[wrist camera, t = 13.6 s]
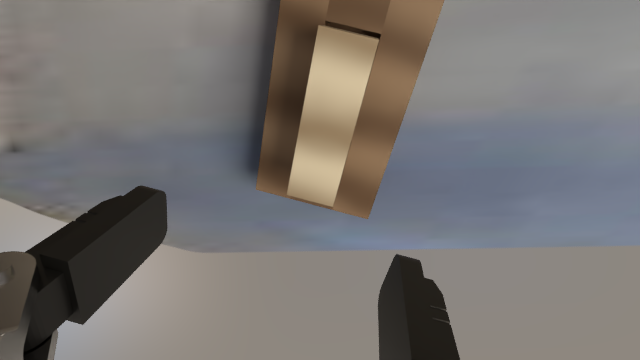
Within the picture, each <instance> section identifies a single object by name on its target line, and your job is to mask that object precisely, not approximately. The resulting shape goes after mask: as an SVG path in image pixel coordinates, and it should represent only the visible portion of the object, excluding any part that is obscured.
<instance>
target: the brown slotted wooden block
mask: <svg viewBox="0 0 640 360" xmlns="http://www.w3.org/2000/svg"><path fill="white" fill-rule="evenodd" d="M443 3H444V0H280V8H279V16H278V23H277V31H276V39H275V46H274V54H273V62H272V69H271V77H270V85H269V92H268V100H267V108H266V115H265V123H264V131H263V138H262V146H261V154H260V161H259V169H258V177H257V184H256V190H260V191H264V192H267V193H271V194H275V195H279V196H283V197H286V198H290V199H294V200H298V201H301V202H305V203H309V204H313V205H317V206H320V207H324V208H328V209H332V210H335V211H339V212H343V213H347V214H350V215H354V216H358V217H362V218H366V219H368V217H369V214H370V212H371V209H372V206H373V203H374V200H375V197H376V194H377V192H378V189H379V186H380V183H381V180H382V177H383V174H384V171H385V169H386V166H387V163H388V160H389V157H390V154H391V151H392V149H393V146H394V143H395V140H396V137H397V134H398V131H399V129H400V126H401V123H402V120H403V117H404V114H405V111H406V109H407V106H408V103H409V100H410V97H411V94H412V91H413V89H414V86H415V83H416V80H417V77H418V74H419V71H420V69H421V66H422V63H423V60H424V57H425V54H426V51H427V48H428V46H429V43H430V40H431V37H432V34H433V31H434V28H435V26H436V23H437V20H438V17H439V14H440V11H441V8H442V6H443ZM318 25H325V26H329V27H333V28H337V29H341V30H346V31H350V32H354V33H358V34H362V35H366V36H370V37H374V38H378V39H379V42H378V46H377V49H376V53H375V57H374V60H373V64H372V67H371V71H370V75H369V78H368V82H367V86H366V89H365V93H364V96H363V100H362V104H361V107H360V111H359V114H358V118H357V122H356V125H355V129H354V133H353V136H352V140H351V143H350V147H349V151H348V154H347V158H346V161H345V165H344V169H343V172H342V176H341V179H340V183H339V187H338V190H337V194H336V198H335V201H334V205H333V207H331V206H327V205H323V204H320V203H316V202H312V201H308V200H304V199H301V198H297V197H293V196H289V195H287V191H288V186H289V180H290V175H291V170H292V164H293V159H294V154H295V148H296V143H297V138H298V132H299V127H300V122H301V116H302V111H303V105H304V100H305V95H306V89H307V84H308V79H309V73H310V68H311V63H312V57H313V52H314V47H315V41H316V36H317V31H318Z"/></svg>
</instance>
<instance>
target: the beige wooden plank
mask: <svg viewBox="0 0 640 360" xmlns="http://www.w3.org/2000/svg"><path fill="white" fill-rule="evenodd" d="M378 42H379V39H378V38H374V37H370V36H366V35H362V34H358V33H354V32H350V31H346V30H341V29H337V28H333V27H329V26H325V25H318V31H317V36H316V41H315V47H314V52H313V57H312V63H311V68H310V73H309V79H308V84H307V89H306V95H305V100H304V105H303V111H302V116H301V122H300V127H299V132H298V138H297V143H296V148H295V154H294V159H293V164H292V170H291V175H290V180H289V186H288V191H287V195H289V196H293V197H297V198H301V199H304V200H308V201H312V202H316V203H320V204H323V205H327V206H331V207H333V205H334V201H335V198H336V194H337V190H338V187H339V183H340V179H341V176H342V172H343V169H344V165H345V161H346V158H347V154H348V151H349V147H350V143H351V140H352V136H353V133H354V129H355V125H356V122H357V118H358V114H359V111H360V107H361V104H362V100H363V96H364V93H365V89H366V86H367V82H368V78H369V75H370V71H371V67H372V64H373V60H374V57H375V53H376V49H377V46H378Z"/></svg>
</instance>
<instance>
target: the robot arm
mask: <svg viewBox="0 0 640 360" xmlns="http://www.w3.org/2000/svg"><path fill="white" fill-rule="evenodd" d="M166 232H167V204H166V194H165V192H163V191H161V190H157V189H153V188H149V187H145V186H138V187H136V188H135V189H133V190H132V191H130V192H129V193H127V194H126V195H124V196H117V197H114V198H112V199H109V200H106V201H103V202H101V203H100V204H98V205H97V206H95V207H93V208H92V209H90V210H89V211H88V213H84V214H83V215H81V216H80V217H78V218H77V219H76V221H72V222H70V223H69V224H67V225H66V226H64V227H63V228H61V229H60V230H58V231H57V232H55V233H54V234H52V235H51V236H49V237H48V238H46V239H44V240H43V241H41V242H40V243H38V244H37V245H35V246H34V247H32V248H31V249H29V250H28V251H26V252H15V251H11V252H2V253H0V360H54V355H55V349H56V344H57V338H58V331H57V328H58V327H59V326H60V325H61V324H62V323H63V322H65V320H68V321H71V322H75V323H78V324H82V325H83V324H84V323H85V322H86V321H87V320H88V319H89V318H90V317H91V316H92V315H93V314H94V312H96V311H97V310H98V309H99V308H100V307H101V306H102V304H103V303H104V302H105V301H106V300H107V299H108V298H109V297H110V296H111V295H112V294H113V293H114V292H115V291H116V290H117V289H118V288H119V287H120V286H121V285H122V284H123V283H124V282H125V281H126V279H128V278H129V277H130V276H131V274H132V273H133V272H134V271H135V270H136V269H137V268H138V267H139V266H140V265H141V264H142V263H143V262H144V261H145V260H146V259H147V258H148V257H149V256H150V255H151V254H152V253H153V252H154V250H155V249H157V248H158V246H159V245H160V244H161V243H162V241H163V240H164V238H165V235H166ZM378 320H379V360H460V358H459V354H458V350H457V347H456V343H455V339H454V335H453V332H452V328H451V325H450V324H449V323H450V320H449V317H448V313H447V312H446V305H445V302H444V298H443V294H442V293H441V291H440V290H439V288H438V287H437V285H436V284H435V283H434V281H433V280H430V279H427V278H424V276H423V270H422V266H421V262H420V260H417V259H413V258H410V257H406V256H402V255H398V254H396V255H395V257H394V259H393V261H392V263H391V266H390V268H389V270H388V272H387V275H386V277H385V280H384V282H383V284H382V287H381V290H380V294H379V300H378Z"/></svg>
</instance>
